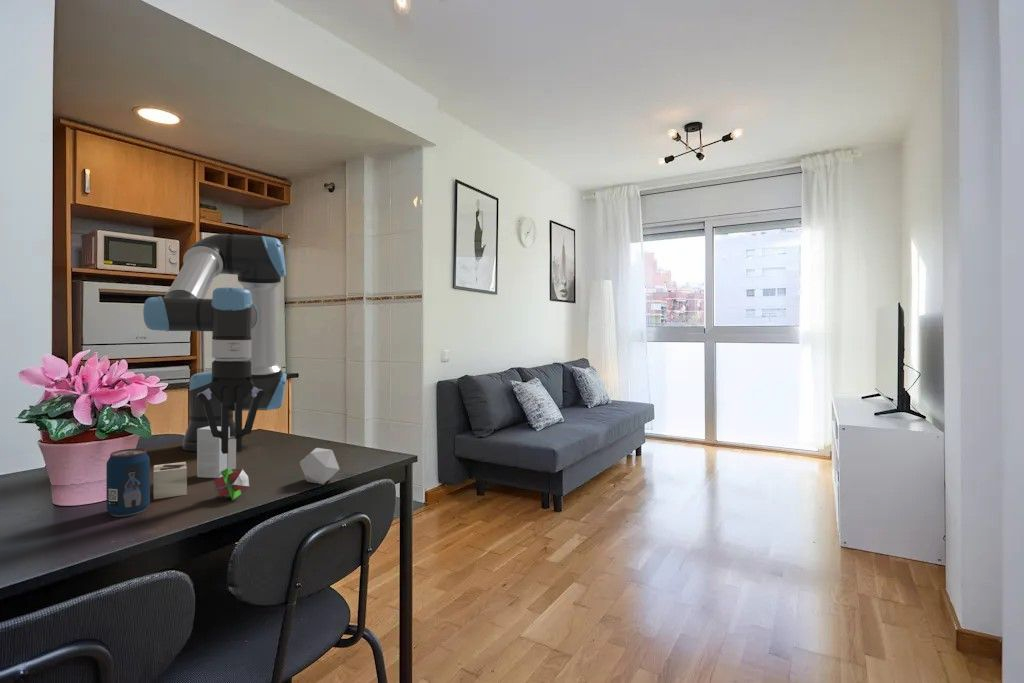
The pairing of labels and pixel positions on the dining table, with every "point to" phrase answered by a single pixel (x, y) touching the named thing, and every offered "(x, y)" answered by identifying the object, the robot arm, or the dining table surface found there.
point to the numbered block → (170, 480)
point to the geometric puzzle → (231, 483)
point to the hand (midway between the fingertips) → (231, 467)
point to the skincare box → (210, 454)
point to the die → (319, 465)
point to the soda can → (128, 482)
